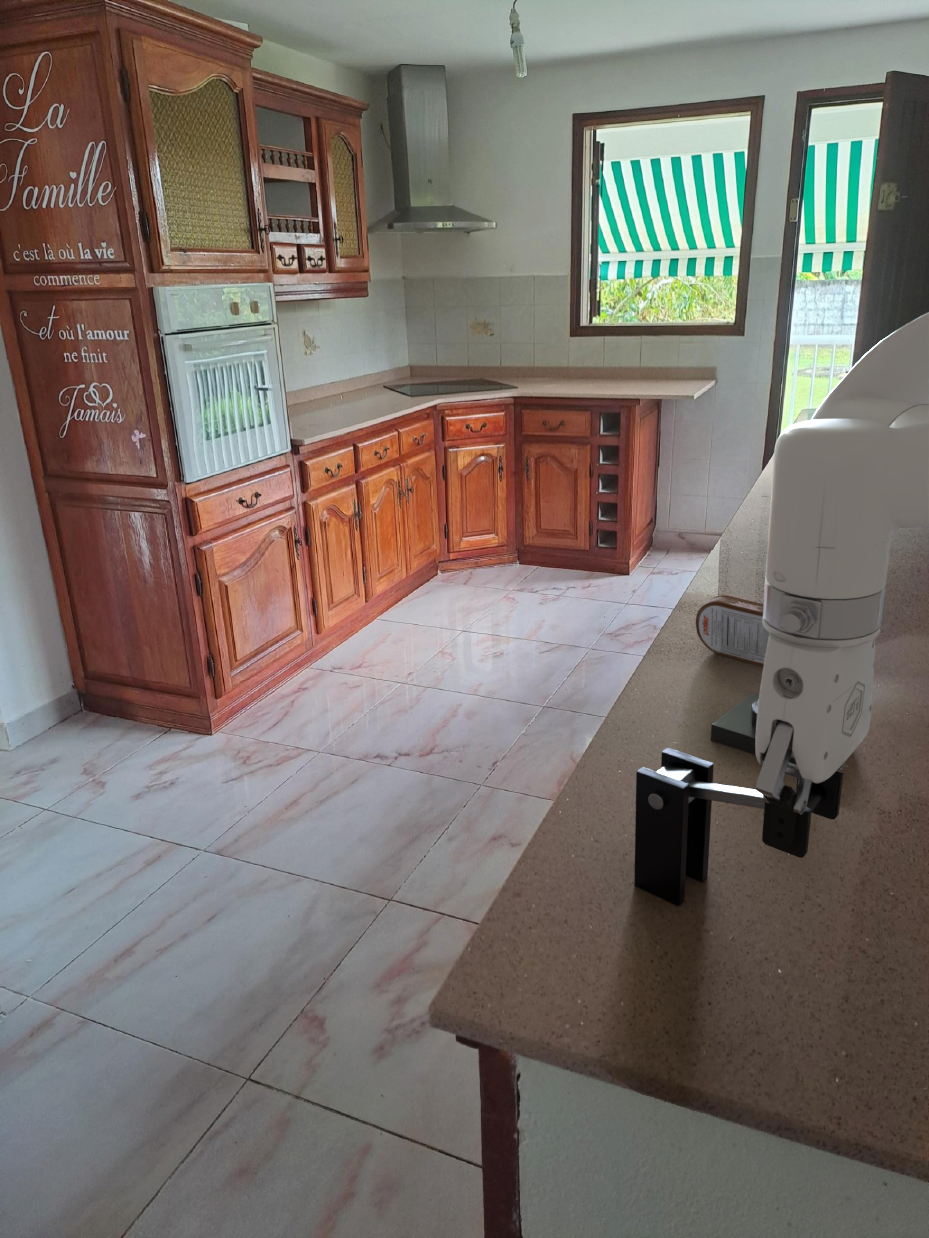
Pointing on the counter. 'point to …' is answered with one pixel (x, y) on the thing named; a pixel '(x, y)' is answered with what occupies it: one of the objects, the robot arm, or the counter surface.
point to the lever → (731, 790)
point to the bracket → (671, 828)
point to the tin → (733, 628)
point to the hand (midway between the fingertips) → (800, 828)
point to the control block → (739, 726)
